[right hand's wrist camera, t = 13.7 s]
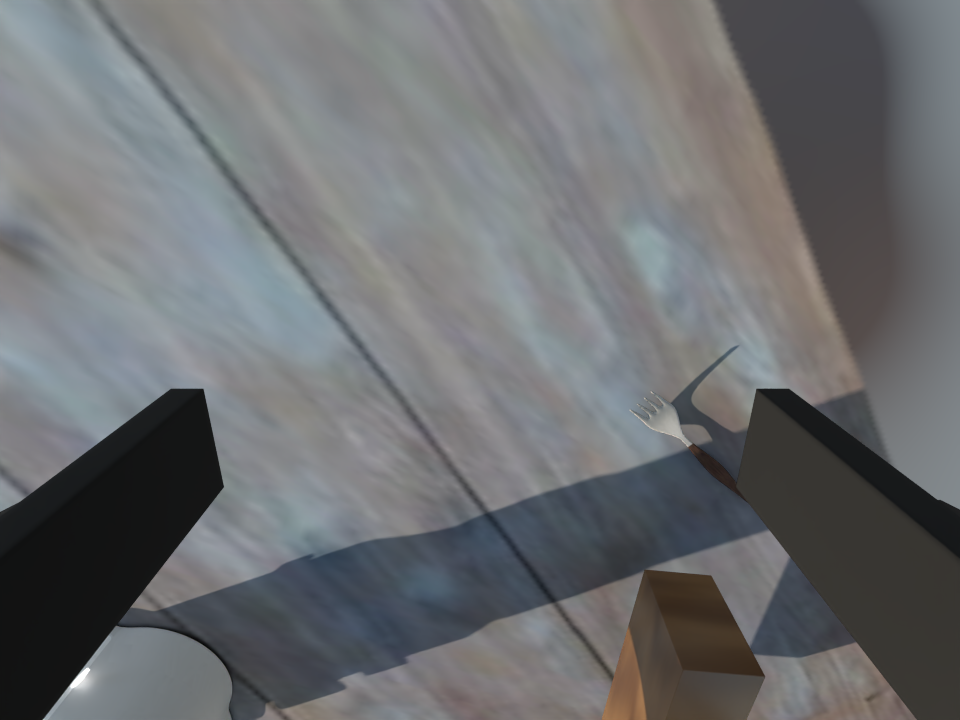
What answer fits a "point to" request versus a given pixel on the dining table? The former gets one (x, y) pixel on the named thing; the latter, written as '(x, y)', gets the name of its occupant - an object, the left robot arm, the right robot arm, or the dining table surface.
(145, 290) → the dining table surface
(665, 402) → the fork
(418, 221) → the dining table surface
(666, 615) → the bar
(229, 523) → the dining table surface
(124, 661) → the left robot arm
